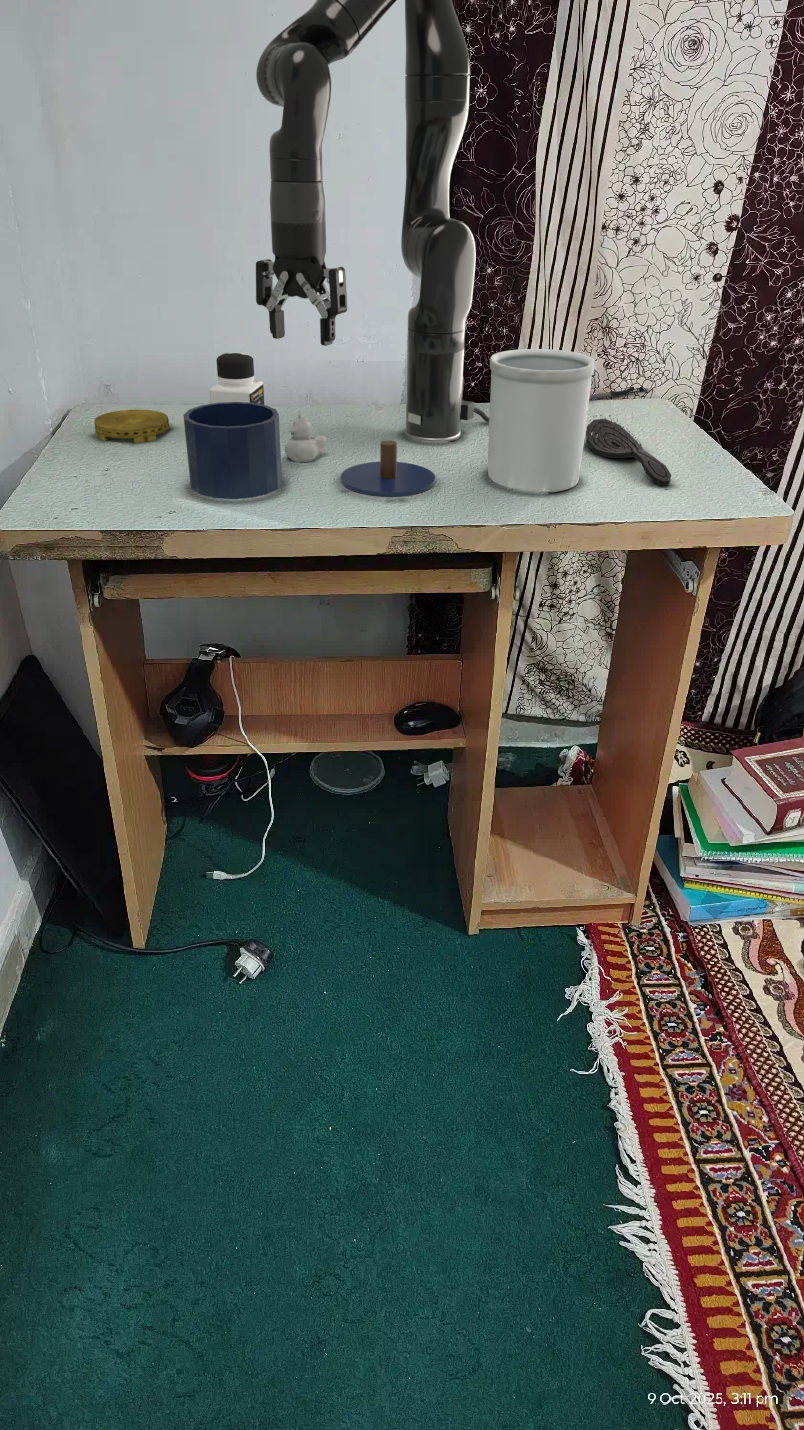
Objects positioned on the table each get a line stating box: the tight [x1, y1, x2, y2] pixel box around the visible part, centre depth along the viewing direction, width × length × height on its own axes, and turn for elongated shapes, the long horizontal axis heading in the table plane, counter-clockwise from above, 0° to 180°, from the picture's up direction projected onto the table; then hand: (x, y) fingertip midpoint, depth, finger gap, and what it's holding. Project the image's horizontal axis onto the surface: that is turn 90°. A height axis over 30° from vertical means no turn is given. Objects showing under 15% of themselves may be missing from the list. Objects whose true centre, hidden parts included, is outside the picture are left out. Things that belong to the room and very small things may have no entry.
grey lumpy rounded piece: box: [284, 411, 328, 463], centre depth 152 cm, size 5×7×8 cm
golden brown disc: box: [93, 409, 170, 444], centre depth 165 cm, size 12×12×2 cm
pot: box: [182, 402, 283, 500], centre depth 141 cm, size 13×13×10 cm
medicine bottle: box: [209, 351, 265, 405], centre depth 165 cm, size 7×7×12 cm
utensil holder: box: [487, 348, 596, 494], centre depth 144 cm, size 15×15×18 cm
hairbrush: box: [585, 414, 672, 488], centre depth 157 cm, size 8×4×25 cm
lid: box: [340, 439, 437, 498], centre depth 144 cm, size 14×14×6 cm
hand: (302, 341), depth 144 cm, fingers open, 8 cm apart
